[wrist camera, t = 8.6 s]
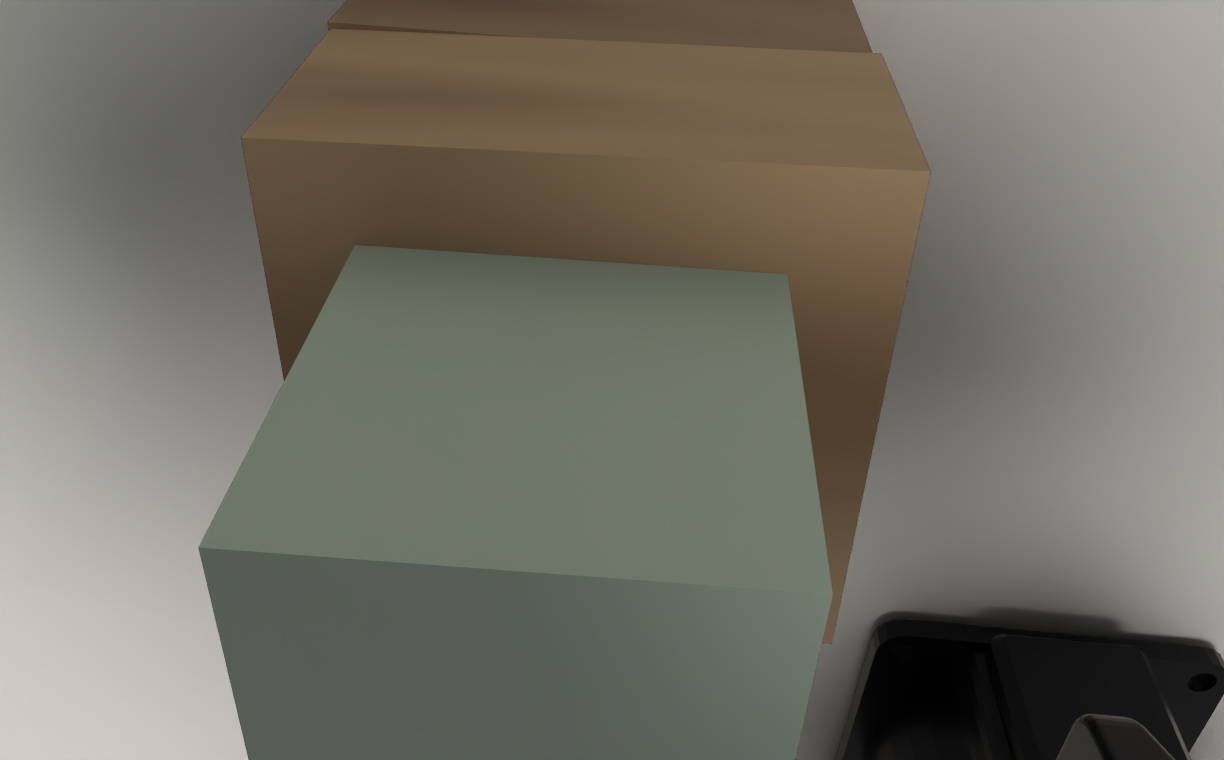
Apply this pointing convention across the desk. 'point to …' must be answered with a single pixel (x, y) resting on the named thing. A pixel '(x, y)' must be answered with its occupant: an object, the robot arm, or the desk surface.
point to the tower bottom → (624, 21)
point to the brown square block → (612, 188)
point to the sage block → (528, 519)
